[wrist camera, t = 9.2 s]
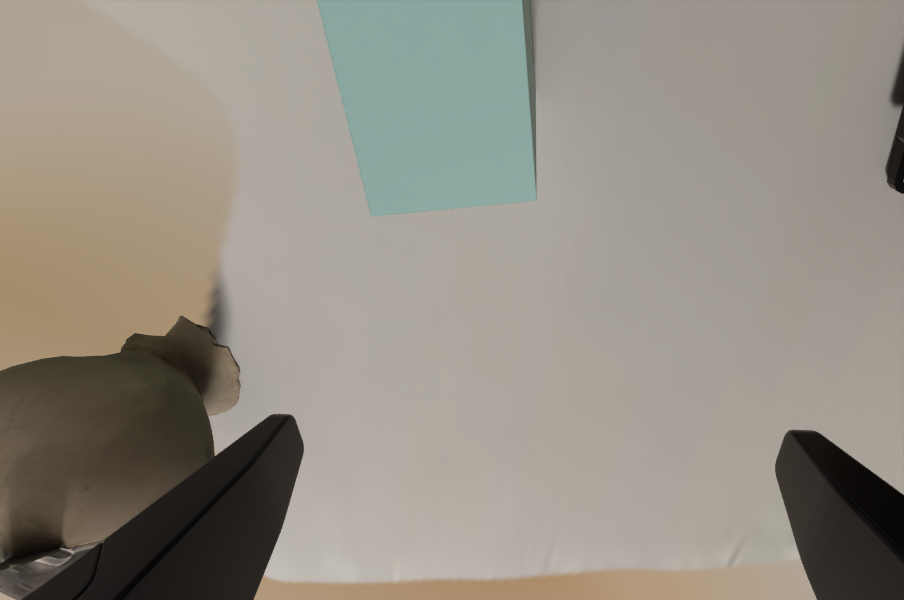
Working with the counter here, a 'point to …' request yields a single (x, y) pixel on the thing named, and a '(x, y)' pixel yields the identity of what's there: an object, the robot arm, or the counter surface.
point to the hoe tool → (437, 100)
